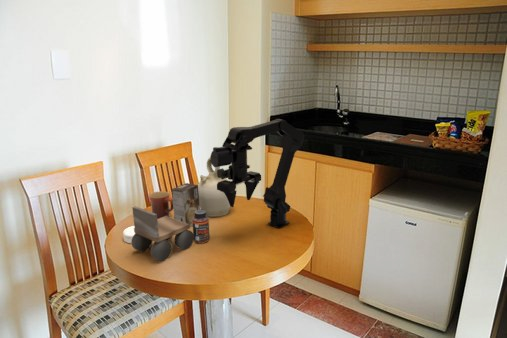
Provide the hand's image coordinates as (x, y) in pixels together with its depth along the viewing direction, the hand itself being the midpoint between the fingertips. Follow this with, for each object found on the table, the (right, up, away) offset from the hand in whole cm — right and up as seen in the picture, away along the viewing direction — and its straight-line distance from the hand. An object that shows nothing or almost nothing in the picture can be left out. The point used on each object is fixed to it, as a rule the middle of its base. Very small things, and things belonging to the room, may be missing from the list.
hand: (240, 203), depth 145 cm
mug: (-33, -8, +22) cm, 41 cm away
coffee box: (-22, -10, +15) cm, 29 cm away
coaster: (-39, -14, +4) cm, 42 cm away
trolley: (-27, -16, -6) cm, 32 cm away
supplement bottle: (-14, -14, +1) cm, 20 cm away
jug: (-12, -6, +27) cm, 30 cm away
